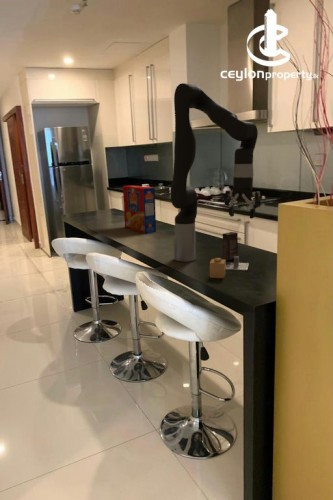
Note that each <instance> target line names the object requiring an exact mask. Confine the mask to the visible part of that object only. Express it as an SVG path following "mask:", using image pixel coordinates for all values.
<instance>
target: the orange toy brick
mask: <svg viewBox="0 0 333 500" xmlns="http://www.w3.org/2000/svg"><path fill="white" fill-rule="evenodd" d="M226 262H227V260H226V259H222V258H221V257H214V258H211V260H210V262H209V278H213V279H225V276H226V271H227V270H226Z"/></svg>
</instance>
